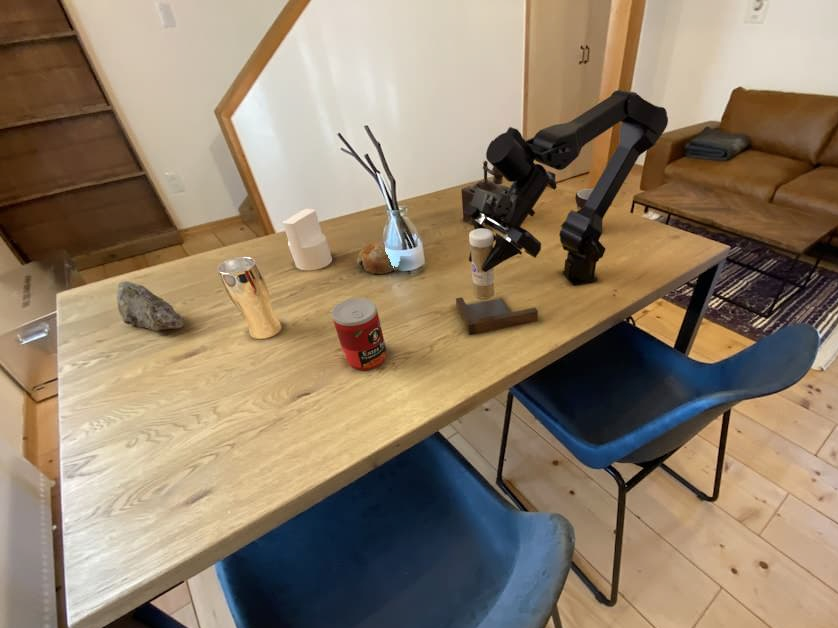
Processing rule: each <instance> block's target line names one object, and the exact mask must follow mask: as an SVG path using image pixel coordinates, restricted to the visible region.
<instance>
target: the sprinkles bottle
mask: <svg viewBox="0 0 838 628" xmlns="http://www.w3.org/2000/svg"><path fill="white" fill-rule="evenodd" d="M493 234H494V231H493V232H492V231H491V230H489V229H483V228H481V229H475V228H474V229H472V230H471V231H470V232H469V235H468V239H469V240H468V241H469V244H470V252H471V256H472V262H471V276H472V278H471V279H472V285H473V286H472V289H473V291H472V294H473V297H474V298H475V299H477V300H481V301H488V300H491V299H492V298H493V297H494V296H495V294H496V293H495V292H496V291H495V267H493V268H492V269H490V270H489V271H487V272H484V271H483V270H482V267H483V265H484V263H485V261H486V259H487V257H488V256H489V254H490V252H491V251H492V249H493V247H494V242H495V241H494V237H493Z"/></svg>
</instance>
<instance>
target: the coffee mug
mask: <svg viewBox="0 0 838 628" xmlns="http://www.w3.org/2000/svg"><path fill="white" fill-rule="evenodd" d="M593 189H594V188H585V189H581V190H579V191H577V192H576V193H575V203H576V212H577V211H578V210H580V209H581V208H583V206H584V205H585V203H586V201H587V200H588V198H589V196H590V194H591V192H592V191H593Z"/></svg>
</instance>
